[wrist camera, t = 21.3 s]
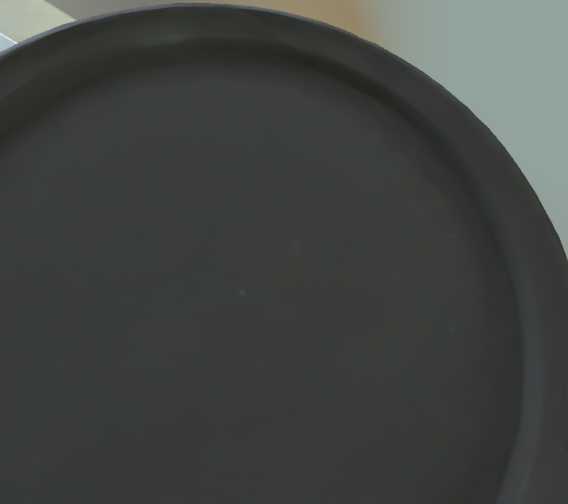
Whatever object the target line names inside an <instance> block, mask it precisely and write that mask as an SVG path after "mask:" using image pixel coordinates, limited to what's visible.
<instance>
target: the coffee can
mask: <svg viewBox="0 0 568 504" xmlns="http://www.w3.org/2000/svg"><path fill="white" fill-rule="evenodd" d="M0 504H568V260H567V257H566V254H565V252H564V249H563V246H562V244H561V241H560V238H559V236H558V234H557V232H556V231H555V229H554V227H553V224H552V222H551V221H550V219H549V217H548V215H547V213H546V211H545V209H544V208H543V206H542V204H541V202H540V200H539V198H538V196H537V195H536V193H535V191H534V190H533V188H532V187H531V185H530V183H529V182H528V181H527V179H526V177H525V176H524V174H523V173H522V172H521V170H520V168H519V167H518V165H517V164H516V163H515V161H514V160H513V158H512V157H511V155H510V154H509V153H508V151H507V150H506V149H505V147H504V146H503V145H502V144H501V142H500V141H499V140H498V139H497V138H496V136H495V135H494V134H493V133H492V132H491V131H490V129H489V128H488V127H487V126H486V125H485V124H484V123H483V122H481V121H480V120H479V119H478V118H477V117H476V116H475V115H474V114H473V113H472V111H471V110H470V109H469V108H468V107H467V106H465V105H464V104H463V103H462V102H460V101H459V100H458V99H457V98H456V97H455V96H453V95H452V94H451V93H450V92H449V91H447V90H446V89H445V88H444V87H443V86H442V85H440V84H439V83H438V82H436V81H435V80H433V79H432V78H430V77H429V76H428V75H427V74H425V73H424V72H422V71H421V70H419V69H418V68H416V67H414V66H413V65H411V64H410V63H408V62H406V61H405V60H403V59H401V58H400V57H398V56H396V55H394V54H392V53H391V52H389V51H388V50H386V49H384V48H382V47H381V46H379V45H377V44H375V43H372V42H370V41H367V40H364V39H362V38H359V37H358V36H356V35H354V34H352V33H350V32H347V31H345V30H343V29H340V28H337V27H335V26H332V25H329V24H327V23H324V22H321V21H316V20H313V19H310V18H306V17H302V16H299V15H295V14H291V13H287V12H283V11H279V10H272V9H265V8H259V7H253V6H243V5H231V4H210V3H174V4H165V5H156V6H148V7H138V8H132V9H127V10H122V11H118V12H112V13H107V14H102V15H98V16H94V17H90V18H86V19H82V20H78V21H74V22H71V23H67V24H64V25H61V26H58V27H55V28H53V29H50V30H48V31H45V32H43V33H40V34H37V35H35V36H32V37H30V38H28V39H26V40H24V41H22V42H20V43H17V44H15V45H13V46H11V47H9V48H7V49H5V50H3V51H1V52H0Z"/></svg>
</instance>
